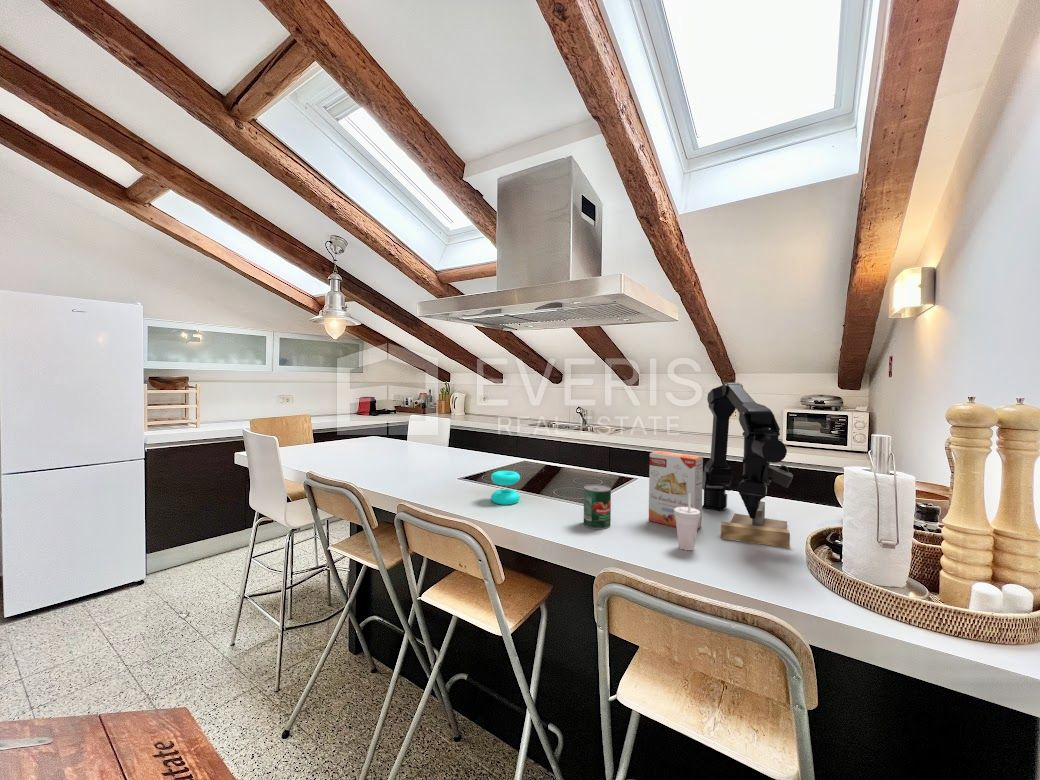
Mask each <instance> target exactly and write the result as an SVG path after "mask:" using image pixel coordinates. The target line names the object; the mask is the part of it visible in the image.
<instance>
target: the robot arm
mask: <svg viewBox="0 0 1040 780" xmlns="http://www.w3.org/2000/svg"><path fill="white" fill-rule="evenodd" d="M706 399H707V403H708V408H709V410H710V412H711V413H712V415H713V418H712V431H711V432H712V433H711V446H710V448H711V449H710V458H709V460H707V461H706V463H705V464H704V468H703V469H704V470H703V483H702V491H703V504H702V509H707V510H708V509H710V510H716V511H723V512H724V511H725V510H726V508H727V506H728V493H726V491H727V492H730V491H731V489H732V483H733V476H732V472H733V471H732V469H731V468H730V466H729V464H728V463H727V456H728V455H727V454H728V441H729V430H730V429H729V426H730V418H731V417H732V415H733V414H734V413H735V412H736V411H737V412H738V413H739V416H738V422H739V424H740V427H741V428H742V430H743V432H742V436H743V458H742V464H743V469H742V471H743V473H742V474H741V477H742V479H741V480H740V481H739V482H738V485H737V486H738V487H737V492H738V493H739V496H740V498H741V499H742V500H741V501H742V502H743V505H744V506H745V510H746V511H747V513H748V514H747V515H749V516H750V518H752V519H755V517H756V513H757V510H758V508H759V504H760V501H761V500H763V499H764V498H765V497H766V496H767V493H768V487H770V484H771V482H773V483H775V484H777V485H780V486H781V487H782V488H784V489H785V488H786V489H788V488H789V486H790V484H791V483H792V480H793V478H794V474H792V472H789V467H788V466H787V465H784V464H781V465H780V466H777V465H776V466H774V465H772V464H771V463H773V464H775V463H780V462H782V461H783V460H784V459H785V458H786V456H787V453H788V449H787V447H786V445H785V443H784V442H783V441H782V440H779V436H780V435H781V433H780V430H781V428H780V426H779V424H778V422H777V419H776V417H775V414H774V412H773V411H772V410H771V409H770V408H769V407H768V406H766V405H764V404H760V403H757V402H756V401H755V400H754V398H752V397H751V395H750V394H749V393H748V392H747V391H746V389H745V388H744V387H743V384H742V383H740V382H725V383H723V384H721V385H720V386H717V387H714V388H712V389H711V390H710V391H709V392H708V393H707V397H706Z"/></svg>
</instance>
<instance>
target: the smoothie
mask: <svg viewBox="0 0 1040 780" xmlns="http://www.w3.org/2000/svg"><path fill="white" fill-rule="evenodd" d="M674 514H675V517H676V526H677V527H676V535H677V542H678V549H680V548H681V550H682V549H684V550H683V551H686V550H692V551H694V550H695V547H696V546H695V545H696V539H697V534H698V533H697V532H698V529H697V528H698V521H699V517H700V516H701V515H700V511H699V510H698V509H695V508H691V494H690V493H689V497H688V507H676V508H675V509H674ZM693 549H694V550H693Z"/></svg>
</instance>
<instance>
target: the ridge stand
mask: <svg viewBox="0 0 1040 780" xmlns="http://www.w3.org/2000/svg"><path fill="white" fill-rule="evenodd" d="M765 506H766V502H765V501H761V500H760V504H759V508H758V510H757V513H756V517H755V519H752V518H750V516H749V514H741V513H734V514H733V516H732V518H731V520H730V522H729V523H738V524H746V525H754V526H762V527H771V528H779V529H787V528H788V521H787V520H781V519H780V520H779V519H774V518H768V517H765V515H766V514H765V513H766V511H765V509H766V507H765ZM787 530H788V529H787Z"/></svg>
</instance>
